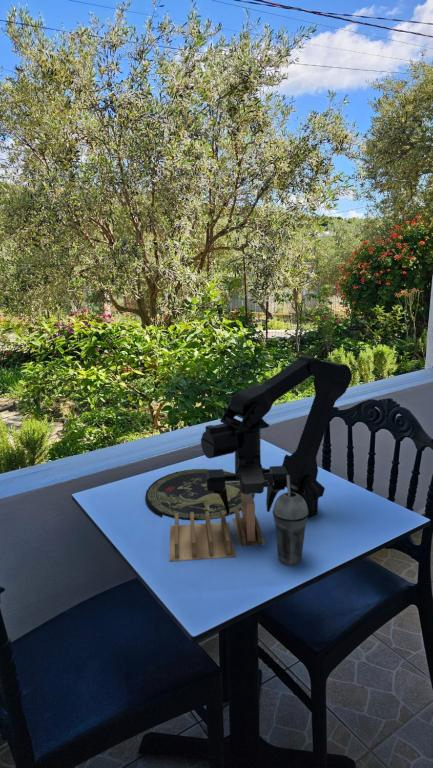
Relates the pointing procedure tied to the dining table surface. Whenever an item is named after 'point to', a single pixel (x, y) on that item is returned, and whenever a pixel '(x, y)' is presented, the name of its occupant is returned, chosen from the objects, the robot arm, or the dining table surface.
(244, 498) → the wooden block
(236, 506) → the decorative plate
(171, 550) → the rack
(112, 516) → the dining table surface
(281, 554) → the beverage cup
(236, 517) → the holder
